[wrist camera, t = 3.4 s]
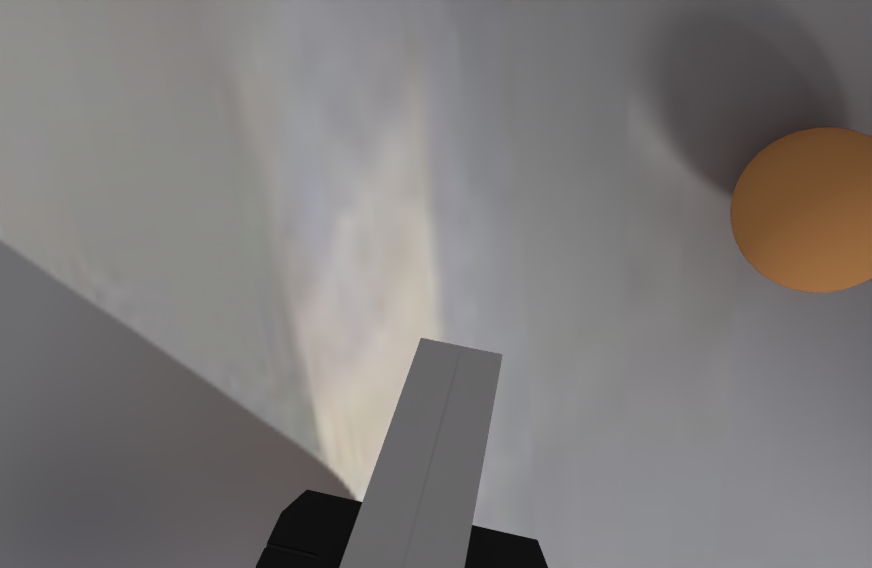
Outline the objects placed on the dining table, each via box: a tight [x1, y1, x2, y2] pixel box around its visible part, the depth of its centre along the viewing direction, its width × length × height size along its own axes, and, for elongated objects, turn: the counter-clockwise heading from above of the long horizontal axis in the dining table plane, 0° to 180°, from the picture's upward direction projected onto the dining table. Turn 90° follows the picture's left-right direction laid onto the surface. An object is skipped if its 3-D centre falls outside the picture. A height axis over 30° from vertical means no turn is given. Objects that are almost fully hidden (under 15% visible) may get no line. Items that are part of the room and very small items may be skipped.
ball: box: [730, 127, 872, 293], centre depth 25 cm, size 6×6×6 cm
